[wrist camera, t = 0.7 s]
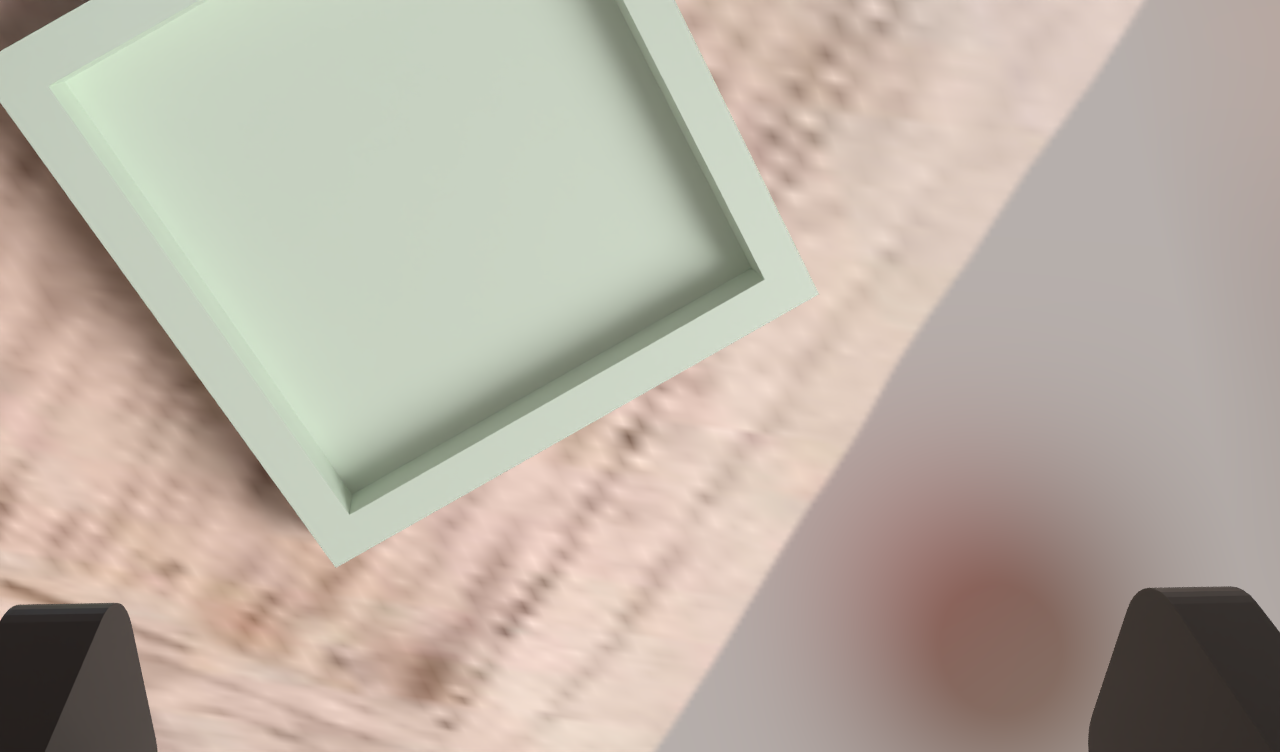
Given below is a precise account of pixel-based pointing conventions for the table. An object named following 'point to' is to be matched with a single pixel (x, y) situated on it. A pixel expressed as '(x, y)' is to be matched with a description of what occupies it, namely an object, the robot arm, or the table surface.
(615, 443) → the table surface
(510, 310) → the sage tray
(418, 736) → the table surface
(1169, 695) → the robot arm
